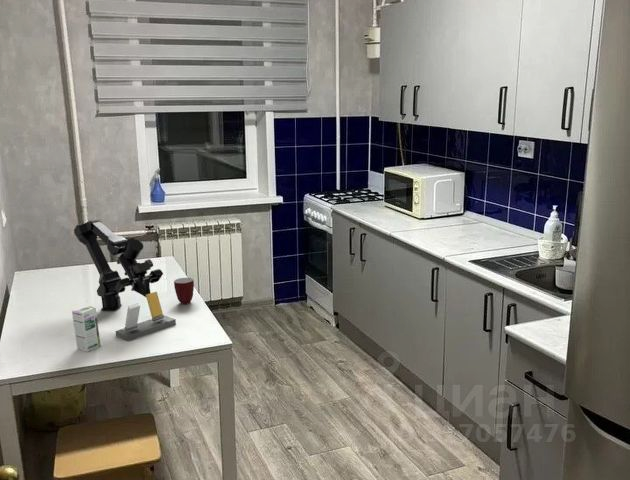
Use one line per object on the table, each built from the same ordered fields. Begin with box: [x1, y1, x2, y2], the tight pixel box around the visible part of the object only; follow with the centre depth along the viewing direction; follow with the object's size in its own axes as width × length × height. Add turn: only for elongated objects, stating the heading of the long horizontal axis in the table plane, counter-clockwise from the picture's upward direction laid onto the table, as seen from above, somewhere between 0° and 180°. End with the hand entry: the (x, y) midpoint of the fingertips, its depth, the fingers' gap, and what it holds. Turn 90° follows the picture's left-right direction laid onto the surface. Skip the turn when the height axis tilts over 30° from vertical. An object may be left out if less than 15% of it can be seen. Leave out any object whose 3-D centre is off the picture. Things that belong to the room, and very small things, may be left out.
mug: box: [173, 277, 195, 305], centre depth 255 cm, size 10×8×10 cm
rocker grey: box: [124, 303, 141, 331], centre depth 221 cm, size 2×4×11 cm, turn 140°
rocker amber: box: [145, 291, 165, 322], centre depth 231 cm, size 2×4×11 cm, turn 140°
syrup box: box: [71, 305, 102, 352], centre depth 212 cm, size 6×6×14 cm
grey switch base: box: [115, 314, 177, 342], centre depth 228 cm, size 21×8×2 cm, turn 140°
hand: (150, 298), depth 232 cm, fingers closed
